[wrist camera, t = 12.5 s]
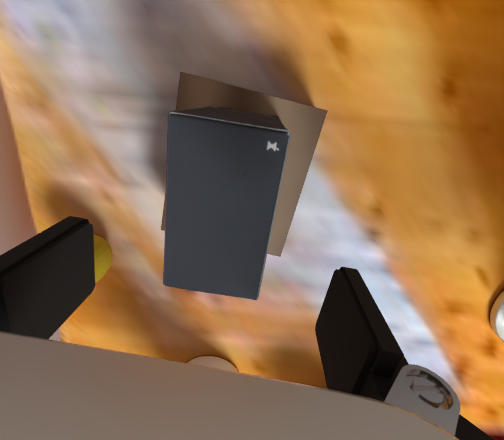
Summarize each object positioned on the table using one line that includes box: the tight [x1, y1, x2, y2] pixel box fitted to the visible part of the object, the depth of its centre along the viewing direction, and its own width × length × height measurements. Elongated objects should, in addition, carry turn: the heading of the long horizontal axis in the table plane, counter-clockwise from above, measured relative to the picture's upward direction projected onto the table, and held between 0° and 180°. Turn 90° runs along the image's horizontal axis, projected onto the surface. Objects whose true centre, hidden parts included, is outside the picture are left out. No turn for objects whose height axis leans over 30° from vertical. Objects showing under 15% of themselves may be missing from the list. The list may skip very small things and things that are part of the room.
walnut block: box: [161, 72, 327, 257], centre depth 28 cm, size 12×14×6 cm
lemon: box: [93, 234, 113, 283], centre depth 31 cm, size 6×6×8 cm
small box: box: [163, 106, 290, 300], centre depth 20 cm, size 11×6×10 cm, turn 171°
